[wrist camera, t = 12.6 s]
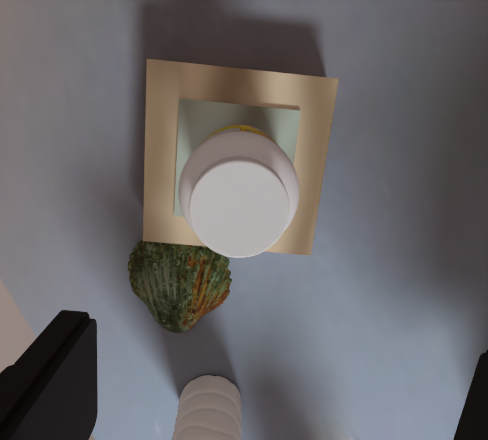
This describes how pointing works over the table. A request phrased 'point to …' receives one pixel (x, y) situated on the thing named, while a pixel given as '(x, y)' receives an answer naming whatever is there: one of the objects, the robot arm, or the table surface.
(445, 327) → the table surface
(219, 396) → the water bottle
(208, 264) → the seashell
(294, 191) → the supplement bottle
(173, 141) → the plinth
